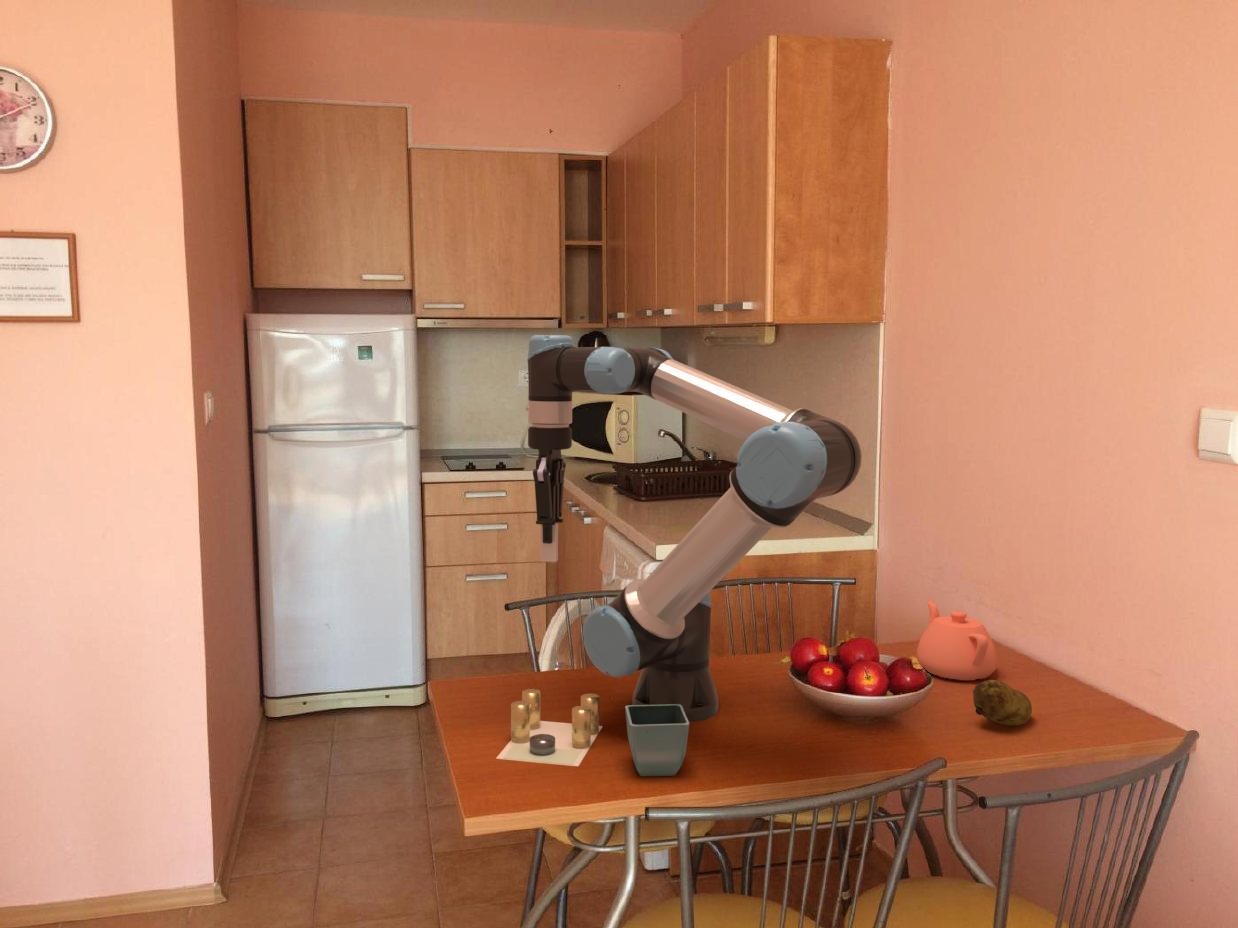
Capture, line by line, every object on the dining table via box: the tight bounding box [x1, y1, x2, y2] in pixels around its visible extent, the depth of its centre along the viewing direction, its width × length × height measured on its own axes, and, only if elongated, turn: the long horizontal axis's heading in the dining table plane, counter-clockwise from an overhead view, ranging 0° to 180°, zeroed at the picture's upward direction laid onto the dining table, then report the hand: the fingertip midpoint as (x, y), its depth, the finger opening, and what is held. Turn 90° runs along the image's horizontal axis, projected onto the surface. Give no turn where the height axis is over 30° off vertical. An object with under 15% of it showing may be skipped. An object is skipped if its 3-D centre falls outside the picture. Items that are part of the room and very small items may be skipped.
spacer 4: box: [571, 705, 592, 749], centre depth 163 cm, size 3×3×6 cm
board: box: [495, 720, 603, 767], centre depth 165 cm, size 13×17×1 cm
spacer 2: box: [521, 688, 541, 730], centre depth 171 cm, size 3×3×6 cm
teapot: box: [916, 599, 998, 681], centre depth 205 cm, size 22×15×12 cm
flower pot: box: [624, 704, 690, 777], centre depth 155 cm, size 9×9×9 cm
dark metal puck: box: [530, 734, 555, 756], centre depth 161 cm, size 4×4×2 cm
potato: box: [972, 679, 1033, 727], centre depth 176 cm, size 8×13×8 cm, turn 109°
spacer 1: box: [510, 700, 530, 744], centre depth 165 cm, size 3×3×6 cm
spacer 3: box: [580, 693, 600, 735], centre depth 169 cm, size 3×3×6 cm
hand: (549, 560), depth 179 cm, fingers closed
